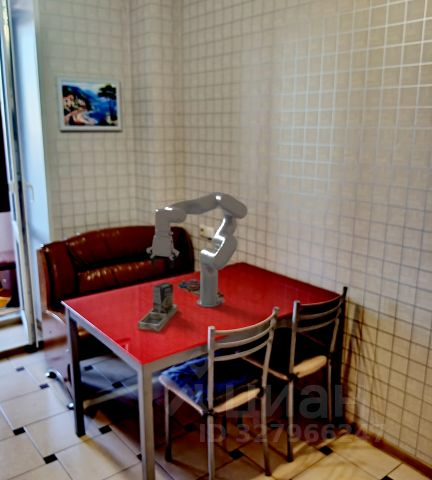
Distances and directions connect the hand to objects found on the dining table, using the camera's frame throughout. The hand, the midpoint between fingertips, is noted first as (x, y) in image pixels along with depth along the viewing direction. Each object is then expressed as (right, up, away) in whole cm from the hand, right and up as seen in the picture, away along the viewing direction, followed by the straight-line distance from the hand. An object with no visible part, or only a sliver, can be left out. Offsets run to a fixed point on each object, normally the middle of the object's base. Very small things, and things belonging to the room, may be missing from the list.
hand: (162, 266), depth 233 cm
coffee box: (0, -26, +6) cm, 26 cm away
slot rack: (-2, -27, 0) cm, 27 cm away
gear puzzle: (+18, -18, +43) cm, 50 cm away
